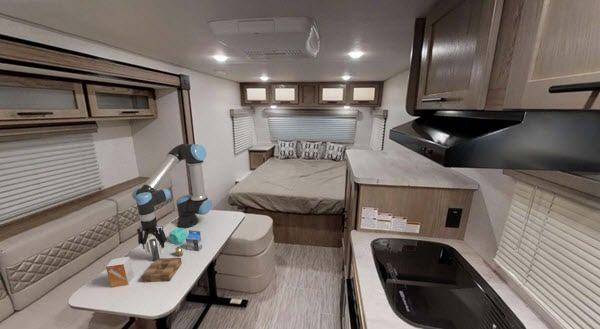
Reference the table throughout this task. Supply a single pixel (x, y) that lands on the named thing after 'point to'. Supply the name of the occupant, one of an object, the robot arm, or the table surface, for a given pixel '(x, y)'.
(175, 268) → the hole block
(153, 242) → the long pin
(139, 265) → the table surface
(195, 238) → the label tape cartridge
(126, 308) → the table surface
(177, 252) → the short pin
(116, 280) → the small box
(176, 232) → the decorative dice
